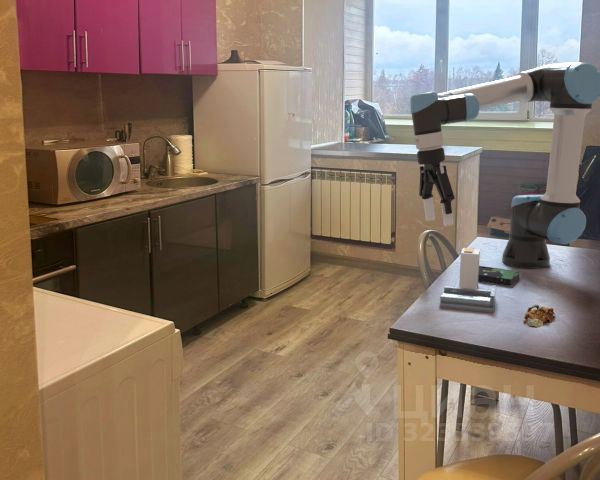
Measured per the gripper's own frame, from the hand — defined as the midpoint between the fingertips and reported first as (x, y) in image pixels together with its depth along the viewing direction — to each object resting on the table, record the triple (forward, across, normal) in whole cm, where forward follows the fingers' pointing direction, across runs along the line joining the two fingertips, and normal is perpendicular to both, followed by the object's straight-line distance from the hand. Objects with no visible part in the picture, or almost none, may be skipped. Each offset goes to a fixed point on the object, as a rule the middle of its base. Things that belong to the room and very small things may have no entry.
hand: (439, 222), depth 186 cm
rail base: (+22, +10, +1) cm, 24 cm away
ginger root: (+26, +25, +13) cm, 39 cm away
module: (+21, -4, +8) cm, 23 cm away
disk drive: (+23, -10, +18) cm, 31 cm away
